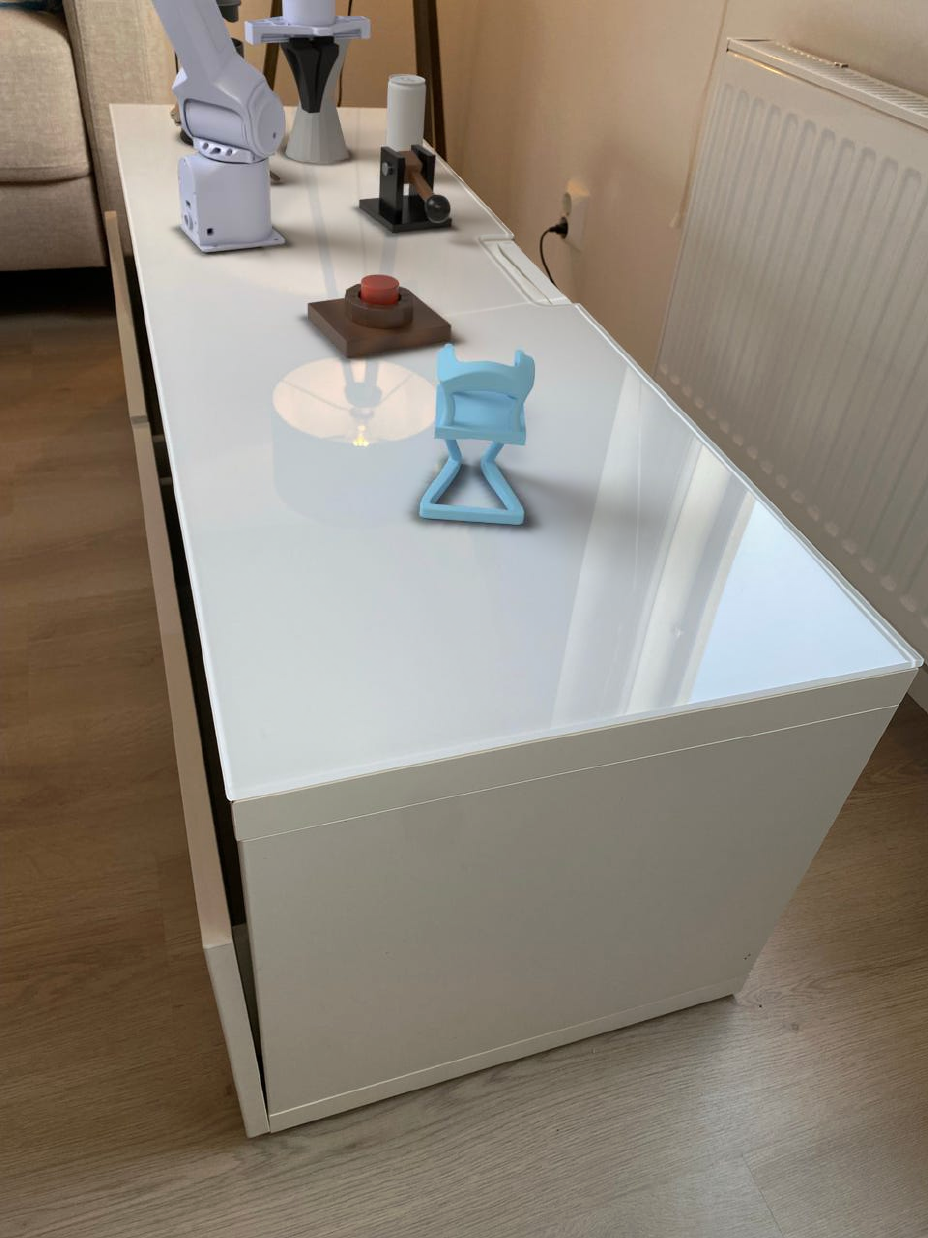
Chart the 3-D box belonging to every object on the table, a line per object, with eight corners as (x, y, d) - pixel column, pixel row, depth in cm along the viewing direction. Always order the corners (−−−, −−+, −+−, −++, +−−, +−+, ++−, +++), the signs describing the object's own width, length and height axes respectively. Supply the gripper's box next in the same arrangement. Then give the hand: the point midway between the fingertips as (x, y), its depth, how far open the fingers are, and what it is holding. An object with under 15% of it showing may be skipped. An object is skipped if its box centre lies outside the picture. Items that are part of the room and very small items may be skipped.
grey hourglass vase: (282, 142, 141) (274, -174, 118) (347, 145, 142) (351, -166, 120) (285, 163, 134) (278, -169, 111) (353, 165, 136) (359, -160, 113)
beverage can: (419, 185, 132) (425, 84, 124) (383, 181, 132) (386, 80, 124) (421, 174, 136) (427, 75, 128) (386, 170, 135) (389, 71, 128)
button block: (346, 359, 92) (347, 322, 90) (307, 319, 98) (306, 284, 96) (450, 341, 97) (453, 306, 95) (407, 304, 103) (408, 270, 100)
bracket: (451, 228, 121) (457, 160, 116) (392, 235, 117) (395, 165, 112) (416, 203, 126) (420, 137, 121) (358, 209, 123) (360, 141, 118)
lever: (452, 226, 116) (457, 203, 113) (429, 229, 115) (434, 205, 112) (411, 170, 120) (415, 147, 118) (388, 172, 119) (393, 148, 117)
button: (371, 309, 94) (371, 291, 92) (354, 294, 96) (354, 276, 95) (405, 304, 95) (406, 286, 94) (387, 289, 97) (388, 271, 96)
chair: (518, 466, 81) (539, 324, 73) (523, 526, 74) (546, 377, 67) (422, 459, 80) (433, 315, 72) (419, 518, 74) (430, 368, 66)
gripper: (262, -18, 102) (268, 125, 111) (385, -21, 109) (382, 114, 118) (233, -32, 106) (241, 108, 115) (353, -34, 113) (352, 98, 122)
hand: (310, 110), depth 117 cm, fingers closed
